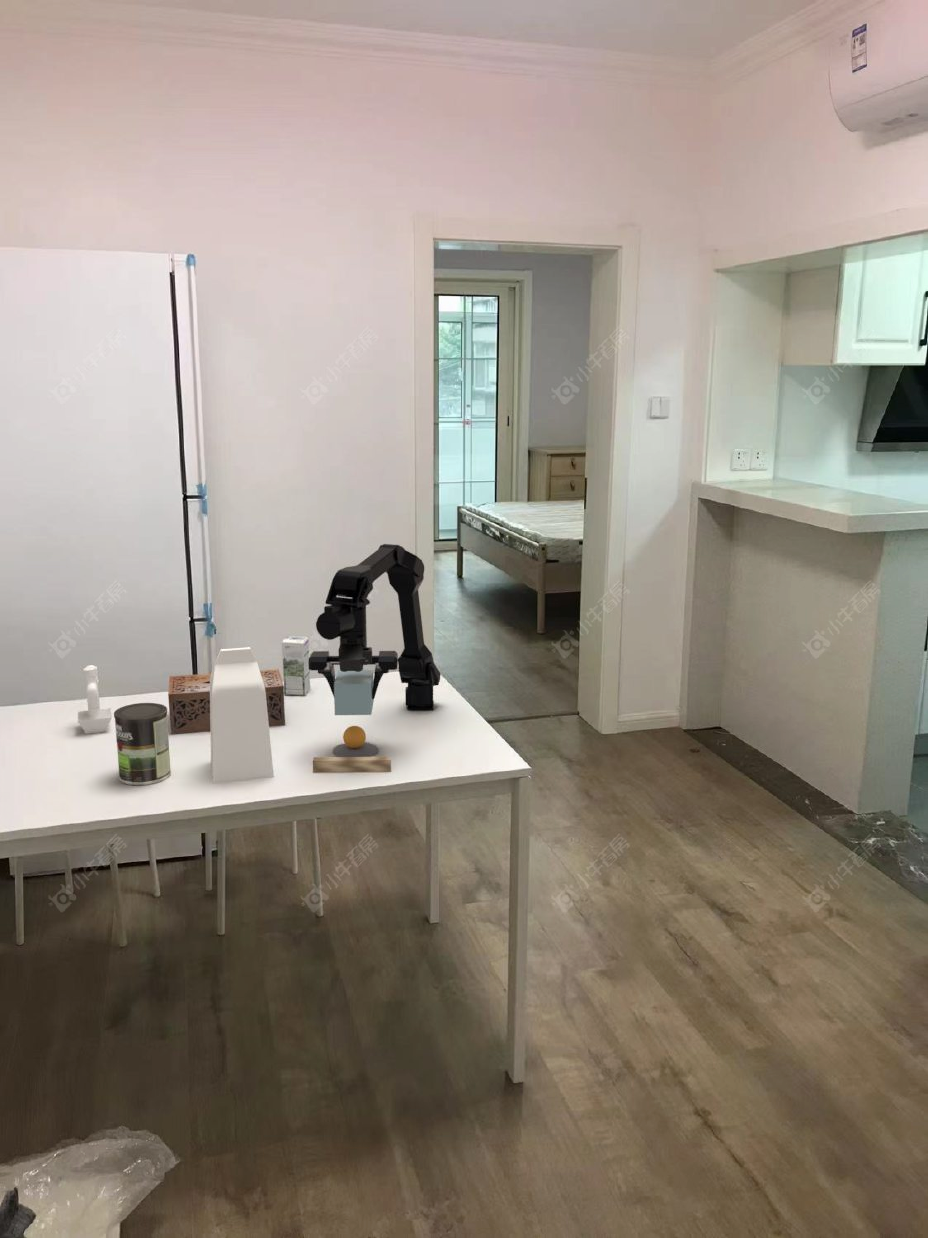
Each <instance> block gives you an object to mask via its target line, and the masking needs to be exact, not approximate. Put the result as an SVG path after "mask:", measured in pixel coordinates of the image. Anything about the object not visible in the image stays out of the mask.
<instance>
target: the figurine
mask: <svg viewBox="0 0 928 1238" xmlns="http://www.w3.org/2000/svg"><path fill="white" fill-rule="evenodd" d="M98 674H99V672H98V667H97V666H96V665H93V664H90V665H86V667H85V668H83V675H84V680H85V690H86V700H87V702H86V703H87V710H81V711H77V723H78V724H79V726H80V727H81V729H82V730H83V731H84V733H85V734H86V735H88V734H89V735H90V734H97V733H106V732H107V730H108V727H109V726H110V725H109V724H110V722H111V720H112V709H111V708H101V706H100V705H101V704H100V695H99V678H98V677H99V676H98Z"/></svg>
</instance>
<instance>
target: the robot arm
mask: <svg viewBox="0 0 928 1238" xmlns="http://www.w3.org/2000/svg"><path fill="white" fill-rule="evenodd" d="M385 573H386V574H387V579H388V582H389V585H390V586H391V587H392V589H393V590H394V591H395V592H396V594H397V599H398V606H399V615H400V616H399V617H400V622H401V631H402V638H403V650H402V652H401V654H400V656H399V655H398V652H397V651H396V650H378V651H379V652H378V655H373V648H372V647H371V646H369V647H368V646H367V645H368V642H367V641H368V640H367V639H368V637H367V636H368V635H367V606H368V605H370V604H371V601H370V600H369V599H368V596H369V594H370V593H371V592H372V591H373V589H374V585H373V583H375V581H376V580H378V579H379V578H380V577H381V576H382V575H383V574H385ZM424 575H425V563H424V562H423V560H422V559H421V558H420V557H418V556H417V555H416V554H414V553H412V552H410V551H409V550H406V549H405V548H404V547H403V546H401V545H400V544H391V543H383V544H380V546H379V547H378V549H377V550H375V551H374V552H373V553H372V554H370V555H369V556H368V557H366V558H365V559H364V560H362V561H361V562H360V563H358V564H356V565H352V566H346V567H342V568H340V569H338V570H337V571H336V573H335V574H334V576H333V578H332V581H331V583H330V587H329V590H328V593H327V596H326V600H325V605H326V606H324V607H323V612H322V613H321V614H319V616H318V617H317V619H316V621H315V628H316V630H317V633H318V634H319V635H320V637H322V638H323V639H325V640H327V641H331V640H336V639H337V638H339V647H338V655H330V651H328V650H327V651H326V650H325V651H323V650H318V651H317V650H314V651H312V652H311V653H310V654H309V670H310V671H317V674H319V675H320V674H321V675H323V677H324V678H325V679H326V681H327V683H328V687H329V688H330V691H331V693H332V696H333V697H334V683H335V679H336V673H335V666H338V665H339V670H340V671H342V672H347V671H356V672H360V671H362V670H364V666H369V665H371V666H372V665H375V666H374V672H373V679H374V682H373V690H372V699H374V700H375V698H376V694H377V691H378V687H379V684H380V681H381V680H382V678H383V675H384V674H389V671H392V670H393V671H396V670H398V673H399V679H400V683H401V684H407V686H405V699H404V700H405V706H407V708H406V709H407V710H408V711H433V710H435V703H434V701H435V700H434V687H435V686H440V685H439V684H440V681H441V676H442V675H441V671H440V670H439V669H438V667H437V665H436V664H435V662H434V659H433V654H432V651H431V650H430V649H429V647H428V646H427V645H426V644H425V639H424V638H425V637H424V630H423V622H422V613H421V603H420V595H419V589H420V587H421V585H422V584H423V581H424V580H425V579H424V577H425V576H424Z"/></svg>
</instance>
